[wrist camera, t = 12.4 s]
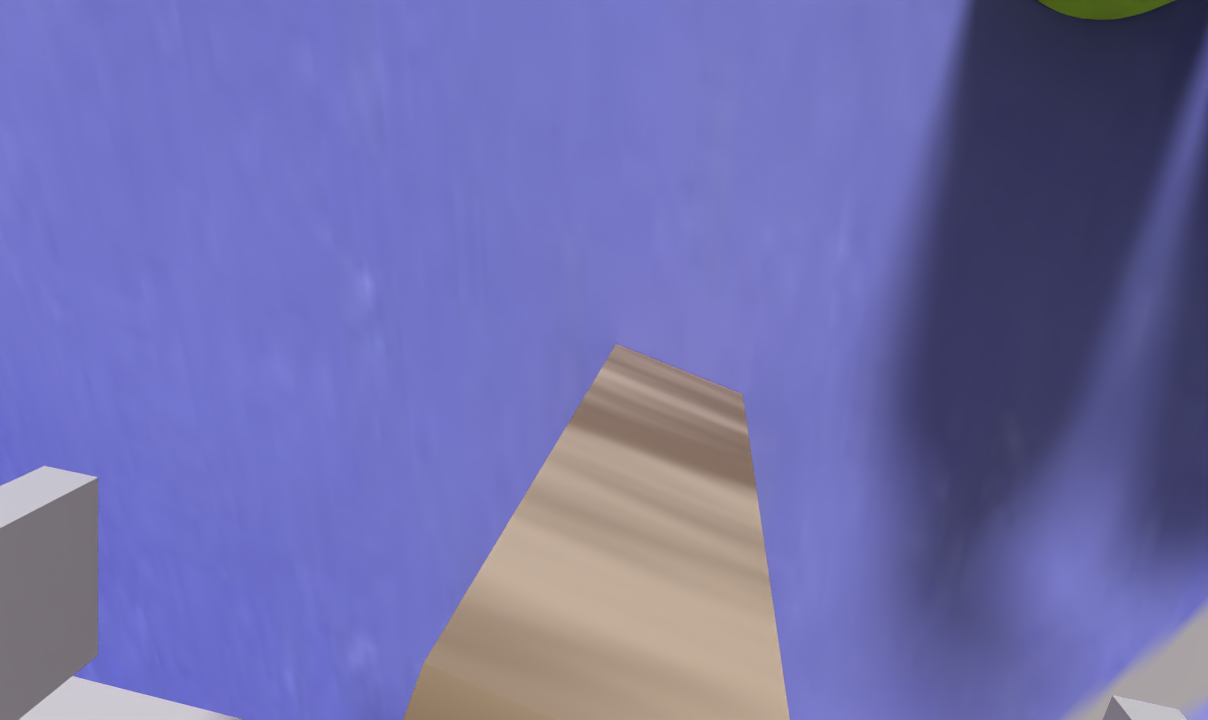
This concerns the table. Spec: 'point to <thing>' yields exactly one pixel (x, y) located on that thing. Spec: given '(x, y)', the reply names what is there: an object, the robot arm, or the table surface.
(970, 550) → the table surface
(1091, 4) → the soap dispenser
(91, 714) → the shelf
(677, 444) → the block
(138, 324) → the table surface
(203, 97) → the table surface
